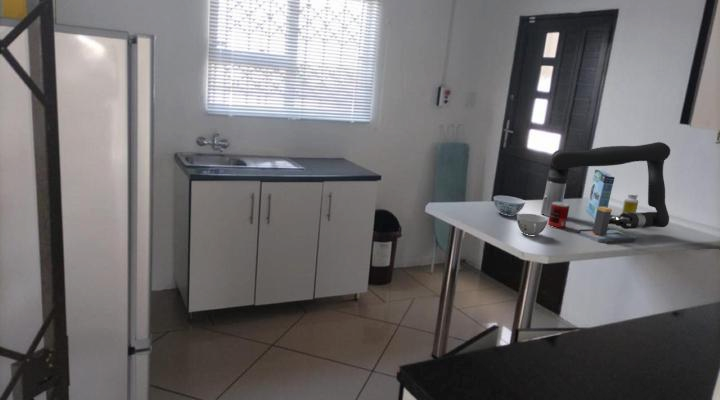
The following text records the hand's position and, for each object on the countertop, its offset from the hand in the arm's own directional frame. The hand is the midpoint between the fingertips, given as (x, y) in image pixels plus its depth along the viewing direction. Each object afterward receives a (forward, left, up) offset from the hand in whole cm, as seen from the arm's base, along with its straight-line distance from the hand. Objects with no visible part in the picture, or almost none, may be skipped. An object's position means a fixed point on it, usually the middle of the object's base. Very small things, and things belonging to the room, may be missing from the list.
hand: (605, 221), depth 230 cm
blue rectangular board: (+2, +2, -7) cm, 8 cm away
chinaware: (-42, +14, -8) cm, 45 cm away
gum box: (+2, +45, -8) cm, 46 cm away
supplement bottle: (+19, +54, -8) cm, 58 cm away
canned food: (-19, +7, -8) cm, 21 cm away
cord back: (-2, +7, -7) cm, 11 cm away
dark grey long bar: (+7, -3, -7) cm, 11 cm away
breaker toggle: (-1, -1, -5) cm, 6 cm away
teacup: (-31, -18, -8) cm, 37 cm away
